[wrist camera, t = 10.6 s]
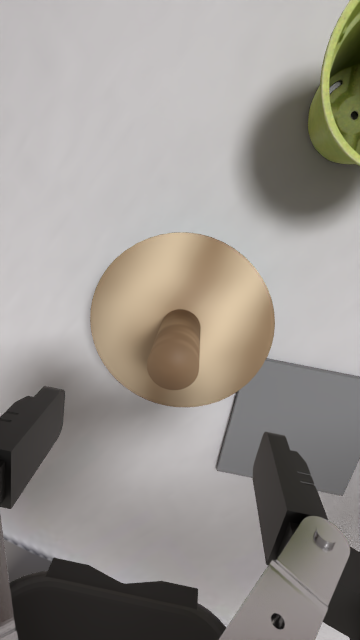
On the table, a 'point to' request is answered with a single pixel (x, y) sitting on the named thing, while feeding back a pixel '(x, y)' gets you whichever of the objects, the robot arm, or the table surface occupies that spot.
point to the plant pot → (339, 93)
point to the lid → (182, 320)
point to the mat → (298, 421)
